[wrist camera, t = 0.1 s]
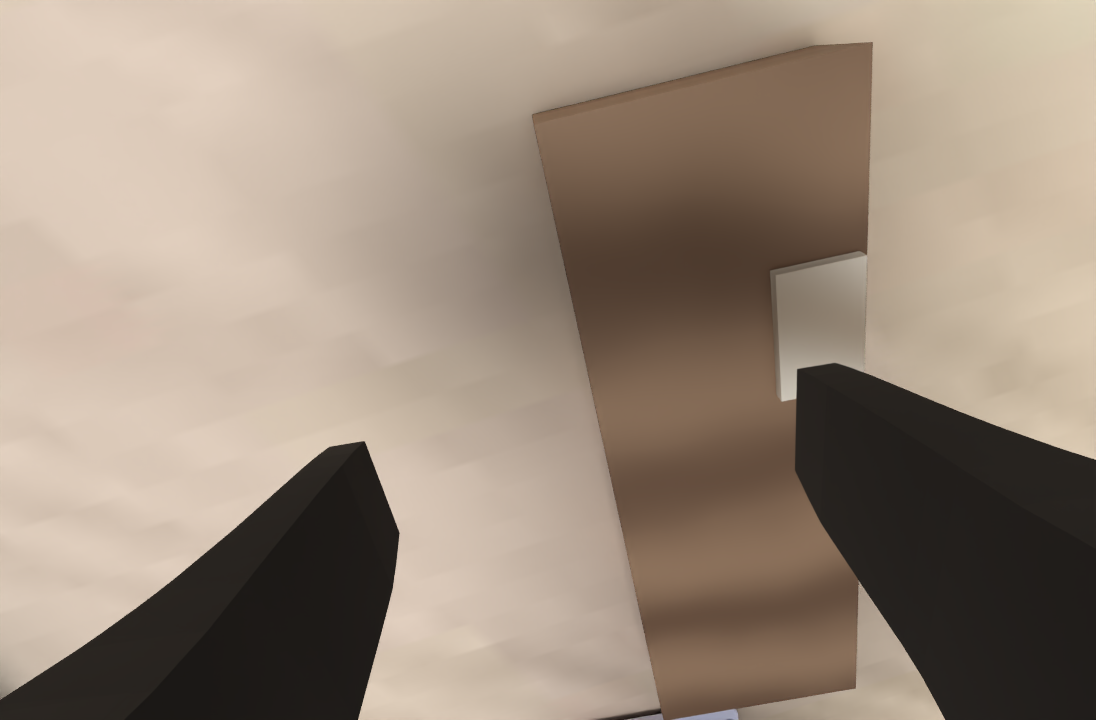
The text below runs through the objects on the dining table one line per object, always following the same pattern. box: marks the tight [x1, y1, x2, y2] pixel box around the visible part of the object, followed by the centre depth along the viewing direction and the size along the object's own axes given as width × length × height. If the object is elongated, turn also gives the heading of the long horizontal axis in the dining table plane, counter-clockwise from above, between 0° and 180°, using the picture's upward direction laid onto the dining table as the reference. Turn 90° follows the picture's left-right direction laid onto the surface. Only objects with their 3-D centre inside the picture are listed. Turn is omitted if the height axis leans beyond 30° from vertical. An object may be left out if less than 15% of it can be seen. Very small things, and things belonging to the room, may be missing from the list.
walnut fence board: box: [532, 42, 873, 720], centre depth 20 cm, size 24×8×3 cm, turn 13°
